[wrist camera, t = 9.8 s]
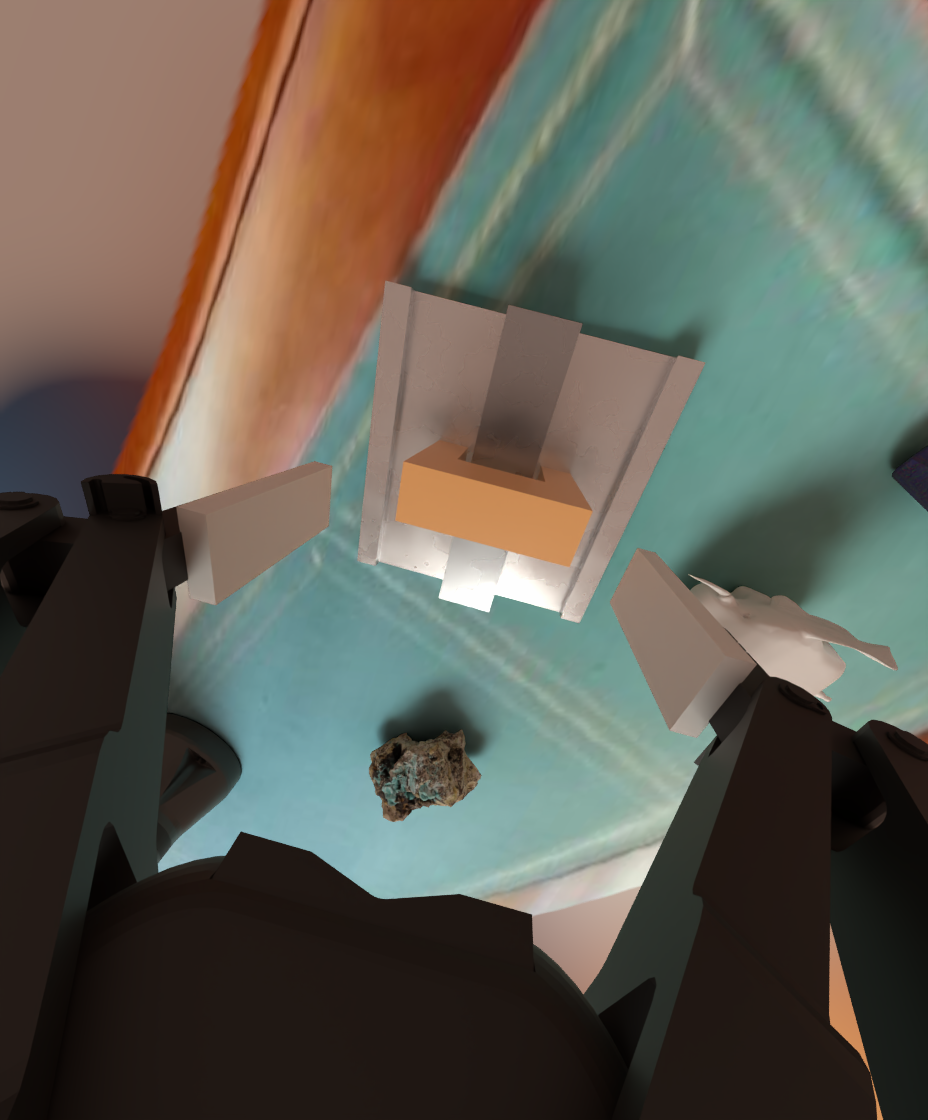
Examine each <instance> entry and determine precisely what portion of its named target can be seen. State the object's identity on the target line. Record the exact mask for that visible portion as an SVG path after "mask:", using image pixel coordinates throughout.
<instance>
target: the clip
mask: <svg viewBox="0 0 928 1120" xmlns="http://www.w3.org/2000/svg"><path fill="white" fill-rule="evenodd" d="M467 452H468V447H465V446H461V445H457V444H453V443H449V442H445V441H441V440H439V441H437V442H435V443H434V444H432V445H430V446H429V447H427V448H425V449H424V450H422V451H420V452H419V453H417V454H415V455H414V456H412V457H410V458H408V459H407V460H405V461H403V468H402V475H401V483H400V490H399V497H398V504H397V511H396V518H395V521H399V522H402V523H406V524H410V525H413V526H417V527H421V528H425V529H428V530H432V531H436V532H439V533H443V534H447V535H451V536H454V537H458V538H462V539H466V540H469V541H473V542H477V543H480V544H484V545H488V546H492V547H495V548H499V549H503V550H507V551H510V552H514V553H518V554H521V555H525V556H529V557H533V558H536V559H540V560H544V561H548V562H551V563H555V564H559V565H562V566H566V567H570V565H571V562H572V560H573V558H574V555H575V553H576V550H577V548H578V546H579V543H580V541H581V538H582V536H583V534H584V531H585V529H586V526H587V524H588V522H589V519H590V517H591V514H592V512H593V511H592V509H591V507H590V506H589V504H588V502H587V501H586V499H585V497H584V495H583V494H582V492H581V490H580V489H579V487H578V485H577V484H576V482H575V480H574V479H573V477H572V475H571V474H569V473H565V472H561V471H557V470H553V469H549V468H546V467H542V466H541V469H540V472H539V475H538V478H537V480H535V479H531V478H527V477H524V476H520V475H516V474H512V473H508V472H504V471H501V470H497V469H493V468H489V467H485V466H481V465H478V464H474V463H470V462H466V456H467Z"/></svg>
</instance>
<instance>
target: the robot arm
mask: <svg viewBox="0 0 928 1120" xmlns="http://www.w3.org/2000/svg"><path fill="white" fill-rule="evenodd" d="M331 478H332V466H330V465H326V464H323V463H319V462H315V461H314V462H311V463H308V464H305V465H302V466H299V467H296V468H293V469H290V470H287V471H284V472H281V473H278V474H275V475H271V476H268V477H265V478H262V479H259V480H256V481H253V482H250V483H247V484H244V485H241V486H238V487H235V488H232V489H229V490H226V491H223V492H219V493H216V494H213V495H210V496H207V497H204V498H201V499H198V500H195V501H192V502H189V503H186V504H182V505H179V506H176V507H173V508H170V509H167V510H164V511H162V509H161V503H160V497H159V491H158V485H157V483H156V481H154V480H152V479H150V478H147V477H142V476H137V475H127V474H109V475H98V476H94V477H90V478H86V479H84V480H83V481H81V484H82V488H83V492H84V496H85V499H86V503H87V507H88V511H89V514H90V516H89V517H88V519H83V518H74V517H65V516H63V513H62V510H61V507H60V504H59V501H58V500H57V499H56V498H54V497H51V496H48V495H41V494H33V493H31V494H30V493H25V492H6V493H0V1120H877V1112H876V1100H875V1095H874V1090H873V1085H872V1080H873V1084H874V1087H875V1091H876V1094H877V1098H878V1102H879V1106H880V1110H881V1113H882V1117H883V1120H928V744H926V743H925V742H924V741H922V740H921V739H918V738H917V737H916V736H914V735H913V734H911V733H909V732H907V731H903V730H901V729H899V728H897V727H895V726H892V725H890V724H887V723H885V722H882V721H878V720H870V721H868V722H867V723H866V724H865V725H864V726H863V727H862V728H860V729H859V730H858V731H857V732H856V731H854V730H851V729H849V728H847V727H845V726H842V725H840V724H838V723H836V722H834V721H832V716H831V714H830V711H829V710H828V709H827V708H826V706H825V705H823V703H822V702H820V701H819V700H818V699H817V698H815V697H814V696H813V695H812V694H810V693H809V692H808V691H806V690H805V689H803V688H801V687H799V686H797V685H795V684H793V683H791V682H789V681H787V680H784V679H781V678H778V677H770V676H769V675H768V674H767V673H766V672H765V671H764V670H763V668H762V667H761V666H760V665H759V664H758V663H757V662H756V661H755V660H754V659H753V657H752V656H751V655H750V654H749V653H747V652H746V650H745V649H744V648H743V647H742V645H741V644H739V643H738V641H737V640H736V639H735V638H734V637H733V636H732V635H731V633H730V632H729V631H728V630H726V629H725V628H724V627H722V625H721V624H720V623H719V622H718V621H717V620H716V619H715V618H714V617H713V616H712V614H711V613H710V612H709V611H708V610H707V609H706V608H705V607H704V606H703V605H702V603H701V602H700V601H699V600H698V599H697V598H696V597H695V596H694V595H693V593H692V592H691V591H690V590H689V589H688V588H687V587H686V586H685V585H684V584H683V582H682V581H681V580H680V579H679V578H678V577H677V576H676V575H675V574H674V573H673V571H672V570H671V569H670V568H669V567H668V566H667V565H666V564H665V563H664V562H663V560H662V559H661V558H660V557H659V556H658V555H657V554H656V553H654V552H651V551H647V550H643V549H640V548H637V550H636V552H635V554H634V556H633V558H632V560H631V562H630V564H629V566H628V568H627V570H626V572H625V573H624V575H623V577H622V579H621V581H620V583H619V585H618V587H617V589H616V591H615V593H614V595H613V597H612V599H611V601H610V604H611V606H612V608H613V610H614V612H615V614H616V617H617V619H618V621H619V623H620V625H621V627H622V629H623V632H624V634H625V636H626V638H627V640H628V642H629V644H630V647H631V649H632V651H633V653H634V655H635V657H636V659H637V662H638V664H639V666H640V668H641V670H642V672H643V674H644V676H645V679H646V681H647V683H648V685H649V687H650V689H651V691H652V694H653V696H654V698H655V700H656V702H657V704H658V706H659V709H660V711H661V713H662V715H663V717H664V719H665V721H666V724H667V726H668V728H669V730H670V731H674V732H677V733H681V734H684V735H688V736H692V737H695V738H697V737H698V736H699V735H700V733H701V732H702V731H703V730H704V728H705V727H706V726H707V725H708V724H709V722H710V724H711V726H712V727H713V729H714V731H715V732H716V734H717V736H716V737H715V738H714V739H713V741H712V742H711V743H710V744H709V745H708V746H707V748H706V749H705V750H704V751H703V752H702V753H701V755H700V756H699V757H698V758H697V759H696V760H695V762H694V763H695V764H697V765H699V766H698V769H697V771H696V773H695V775H694V777H693V779H692V781H691V783H690V785H689V787H688V790H687V792H686V794H685V796H684V798H683V800H682V802H681V804H680V806H679V808H678V811H677V813H676V815H675V817H674V819H673V821H672V823H671V825H670V827H669V829H668V832H667V834H666V836H665V838H664V840H663V842H662V844H661V846H660V848H659V850H658V853H657V855H656V857H655V859H654V861H653V863H652V865H651V867H650V869H649V871H648V874H647V876H646V878H645V880H644V882H643V884H642V886H641V888H640V890H639V893H638V895H637V897H636V899H635V901H634V903H633V905H632V907H631V909H630V912H629V913H628V916H627V918H626V920H625V922H624V924H623V926H622V928H621V930H620V932H619V934H618V937H617V939H616V941H615V943H614V945H613V947H612V949H611V952H610V953H609V955H608V958H607V960H606V962H605V963H604V966H603V967H602V969H601V970H600V972H599V974H598V975H597V977H596V978H595V979H594V981H593V982H592V984H591V985H590V986H589V988H588V989H587V991H586V992H585V993H584V995H583V994H582V992H581V991H580V989H579V988H578V987H577V985H576V984H575V983H574V982H573V981H572V980H571V979H570V977H569V976H568V975H567V974H566V973H565V972H564V971H563V970H562V969H561V967H560V966H559V965H558V964H557V963H556V962H554V961H553V960H552V959H551V958H550V957H549V956H548V955H547V954H546V953H544V952H543V951H542V950H541V949H539V948H538V947H537V946H535V945H534V944H533V934H532V933H533V932H532V915H531V914H528V913H524V912H521V911H517V910H514V909H510V908H507V907H503V906H500V905H496V904H493V903H489V902H486V901H482V900H479V899H475V898H472V897H468V896H465V895H461V894H455V895H440V896H426V897H412V898H397V899H380V898H377V897H374V896H372V895H371V894H369V893H368V892H367V891H365V890H364V889H362V888H361V887H360V886H358V885H357V884H356V883H354V882H353V881H351V880H350V879H349V878H347V877H346V876H344V875H343V874H342V873H340V872H339V871H337V870H336V869H335V868H333V867H332V866H331V865H329V864H328V863H326V862H325V861H324V860H322V859H321V858H319V857H318V856H317V855H315V854H314V853H312V852H310V851H307V850H303V849H300V848H296V847H293V846H289V845H286V844H282V843H279V842H275V841H272V840H268V839H265V838H261V837H258V836H254V835H251V834H247V833H244V832H240V834H239V835H238V837H237V839H236V840H235V842H234V843H233V845H232V847H231V848H230V850H229V851H228V853H227V855H226V856H215V857H210V858H205V859H199V860H194V861H191V862H188V863H184V864H181V865H178V866H175V867H171V868H169V869H166V870H164V871H161V872H159V873H158V863H159V861H160V860H161V859H162V857H163V856H164V855H165V854H166V852H167V851H168V850H169V848H170V847H171V846H172V845H173V843H174V842H175V841H176V840H177V839H178V838H179V837H180V836H181V835H182V834H183V833H185V832H186V831H187V830H188V829H189V828H190V827H192V826H193V825H194V824H195V823H196V822H197V821H199V820H200V819H201V818H202V817H203V816H205V815H206V814H207V813H208V812H209V811H210V810H212V809H213V808H214V807H215V806H216V805H218V804H219V803H220V802H221V801H222V800H223V799H224V798H225V797H226V796H227V795H228V794H229V793H230V791H231V790H232V788H233V787H234V786H235V784H236V783H237V782H238V780H239V778H240V776H241V767H240V764H239V761H238V759H237V757H236V756H235V754H234V753H233V751H232V750H231V749H230V748H229V746H228V745H227V744H226V743H225V742H224V741H223V740H221V739H220V738H219V737H218V736H217V735H215V734H214V733H213V732H211V731H210V730H208V729H207V728H205V727H203V726H201V725H200V724H198V723H196V722H194V721H191V720H189V719H187V718H184V717H181V716H178V715H174V714H169V713H167V704H168V693H169V681H170V669H171V658H172V646H173V634H174V623H175V611H176V600H177V598H176V592H175V587H176V586H178V585H179V584H181V583H183V582H185V581H186V580H187V583H188V589H189V596H190V598H191V599H195V600H198V601H202V602H206V603H209V604H213V605H217V604H218V603H220V602H221V601H223V600H224V599H225V598H227V597H228V596H230V595H231V594H233V593H234V592H235V591H237V590H238V589H240V588H241V587H243V586H244V585H245V584H247V583H248V582H250V581H251V580H253V579H254V578H255V577H257V576H258V575H260V574H261V573H263V572H264V571H265V570H267V569H268V568H270V567H271V566H272V565H274V564H275V563H277V562H278V561H280V560H281V559H282V558H284V557H285V556H287V555H288V554H290V553H291V552H292V551H294V550H295V549H297V548H298V547H300V546H301V545H302V544H304V543H305V542H307V541H308V540H310V539H311V538H312V537H314V536H315V535H317V534H318V533H319V532H321V531H322V530H324V529H325V528H327V527H328V526H329V511H330V494H331ZM830 924H831V928H832V932H833V935H834V939H835V943H836V946H837V950H838V953H839V957H840V961H841V965H842V969H843V972H844V976H845V980H846V983H847V987H848V991H849V994H850V998H851V1002H852V1006H853V1009H854V1013H855V1016H856V1020H857V1024H858V1028H859V1032H860V1035H861V1039H862V1043H863V1046H864V1050H865V1053H866V1057H867V1061H868V1065H869V1069H870V1072H871V1074H870V1072H869V1070H868V1068H867V1066H866V1065H865V1063H864V1061H863V1059H862V1058H861V1056H860V1054H859V1053H858V1051H857V1050H856V1049H854V1048H853V1046H852V1045H851V1044H850V1043H848V1041H846V1040H845V1038H843V1037H842V1036H841V1035H840V1034H839V1033H838V1032H837V1031H836V1030H835V1029H834V1028H833V1027H832V1026H831V1025H830V1018H829V961H830V959H829V958H830V957H829V955H830ZM871 1076H872V1080H871Z"/></svg>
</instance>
